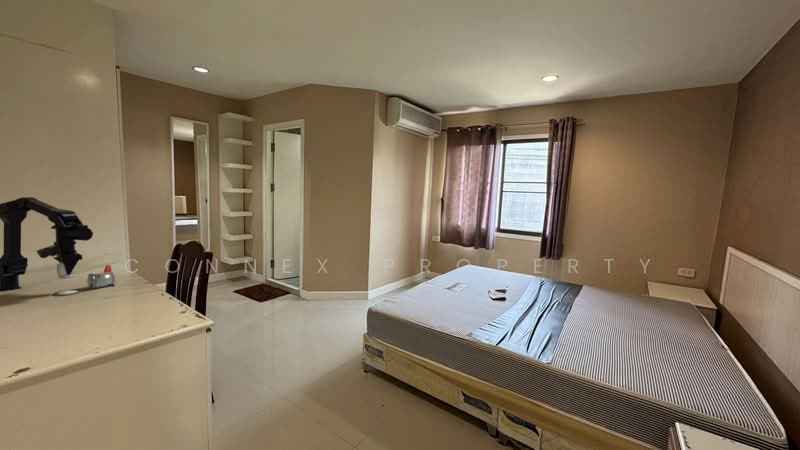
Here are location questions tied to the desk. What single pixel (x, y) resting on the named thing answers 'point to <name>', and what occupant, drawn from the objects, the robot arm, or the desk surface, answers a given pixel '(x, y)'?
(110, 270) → the bracket
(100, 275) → the grey rounded block
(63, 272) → the white knob
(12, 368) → the desk surface
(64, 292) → the flange
